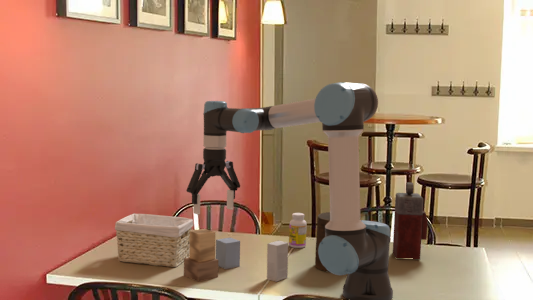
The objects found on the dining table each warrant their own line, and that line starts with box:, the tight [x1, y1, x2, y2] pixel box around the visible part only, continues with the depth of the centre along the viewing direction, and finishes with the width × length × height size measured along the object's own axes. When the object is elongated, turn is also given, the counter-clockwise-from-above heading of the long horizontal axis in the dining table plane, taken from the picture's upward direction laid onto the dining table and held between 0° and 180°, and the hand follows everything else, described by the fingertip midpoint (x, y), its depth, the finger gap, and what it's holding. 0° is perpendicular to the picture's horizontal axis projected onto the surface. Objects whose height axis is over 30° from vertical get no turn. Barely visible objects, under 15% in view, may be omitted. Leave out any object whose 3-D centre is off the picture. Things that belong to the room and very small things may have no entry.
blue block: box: [215, 237, 241, 270], centre depth 233 cm, size 6×6×9 cm
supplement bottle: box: [288, 212, 308, 249], centre depth 262 cm, size 7×7×13 cm
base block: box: [183, 257, 219, 282], centre depth 221 cm, size 8×8×6 cm
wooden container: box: [314, 211, 330, 273], centre depth 235 cm, size 15×15×22 cm
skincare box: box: [266, 240, 289, 282], centre depth 220 cm, size 6×4×12 cm
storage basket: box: [114, 213, 194, 268], centre depth 238 cm, size 24×16×15 cm
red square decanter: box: [392, 182, 429, 260], centre depth 251 cm, size 9×11×28 cm
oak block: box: [189, 228, 216, 262], centre depth 220 cm, size 6×6×9 cm
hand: (213, 211), depth 224 cm, fingers open, 13 cm apart
